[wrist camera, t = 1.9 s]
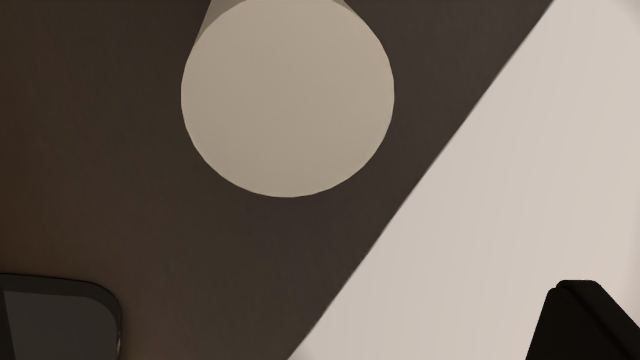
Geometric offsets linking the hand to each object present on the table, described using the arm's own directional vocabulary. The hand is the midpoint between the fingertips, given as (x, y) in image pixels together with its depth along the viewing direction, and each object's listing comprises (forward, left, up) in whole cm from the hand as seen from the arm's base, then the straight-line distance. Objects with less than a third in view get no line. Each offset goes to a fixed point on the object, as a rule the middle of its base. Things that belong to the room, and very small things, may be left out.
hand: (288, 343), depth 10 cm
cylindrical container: (-1, +1, -36) cm, 36 cm away
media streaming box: (+31, -19, -36) cm, 51 cm away
